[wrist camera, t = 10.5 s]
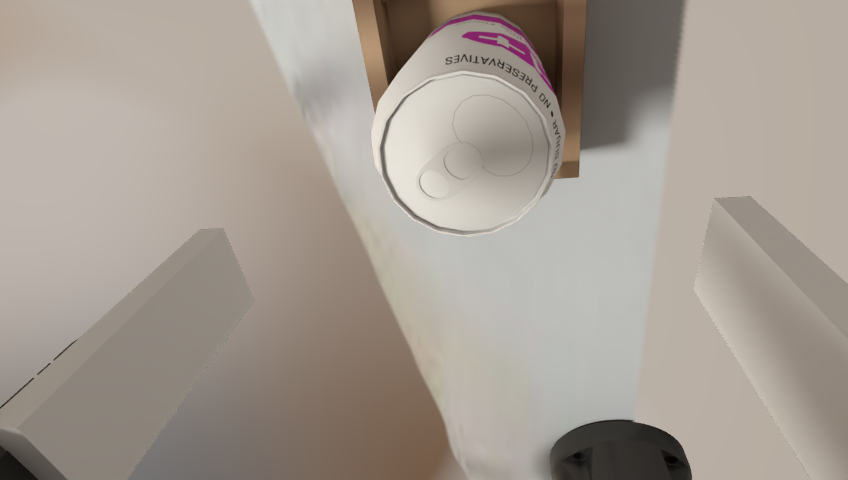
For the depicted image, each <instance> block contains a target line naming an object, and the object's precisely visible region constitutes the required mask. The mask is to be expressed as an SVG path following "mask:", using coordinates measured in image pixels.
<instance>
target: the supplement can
mask: <svg viewBox="0 0 848 480" xmlns="http://www.w3.org/2000/svg"><path fill="white" fill-rule="evenodd" d="M565 132H566V131H565V127H564V124H563V120H562V116H561V112H560V109H559V105H558V101H557V98H556V95H555V93H554V91H553V89H552V86H551V84H550V82H549V79H548V77H547V75H546V73H545V70H544V68H543V66H542V64H541V61H540V59H539V57H538V55H537V52H536V50H535V48H534V46H533V43H532V42H531V41H530V39H529V38H528V37H527V35H526V34H525V33H524V31H523V30H522V29H521V27H520V26H519V25H518V24H516V23H514V22H513V21H511V20H509V19H508V18H506V17H504V16H503V15H501V14H499V13H493V12H486V11H479V10H475V11H470V12H466V13H462V14H458V15H454V16H452V17H451V18H450V19H448V20H447V21H445V22H444V23H443V24H441V25H440V26H438V27H437V28H435V29H434V30H433V32H432V33H431V34H430V35H429V36H428V38H427V39H426V40H425V41H424V42H423V44H422V45H421V46H420V47H419V48H418V50H417V51H416V52H415V53H414V54H413V56H412V57H411V58H410V59H409V60H408V62H407V63H406V64H405V65H404V66H403V68H402V69H401V70H400V71H399V72H398V74H397V75H396V77H395V78H394V80H393V81H392V82H391V84H390V85H389V87H388V88H387V90H386V91H385V93H384V94H383V96H382V97H381V99H380V100H379V102H378V105H377V110H376V114H375V118H374V122H373V127H372V131H371V139H372V147H373V154H374V162H375V166H376V168H377V170H378V172H379V174H380V176H381V178H382V180H383V182H384V184H385V186H386V188H387V190H388V192H389V194H390V196H391V198H392V200H393V202H394V203H396V204H397V205H398V206H399V207H400V208H401V209H402V210H403V211H404V212H405V213H406V214H407V215H408V216H409V217H410V218H411V219H412V220H413V221H415V222H417V223H419V224H421V225H423V226H425V227H427V228H429V229H431V230H433V231H435V232H438V233H444V234H450V235H456V236H462V237H467V236H475V235H483V234H491V233H493V232H496V231H498V230H500V229H502V228H504V227H507V226H509V225H511V224H513V223H515V222H517V221H518V220H519V219H520V218H521V217H523V216H524V215H525V214H526V213H527V212H528V211H529V210H530V209H531V208H532V207H533V206H534V205H535V204H536V203H538V201H539V200H540V199H541V198H542V197H543V196H544V195H545V194H546V193H547V191H548V189H549V187H550V186H551V184H552V182H553V180H554V178H555V176H556V174H557V172H558V170H559V168H560V166H561V164H562V157H563V148H564V140H565Z"/></svg>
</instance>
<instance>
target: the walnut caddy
mask: <svg viewBox="0 0 848 480" xmlns="http://www.w3.org/2000/svg"><path fill="white" fill-rule="evenodd" d="M352 2H353V7H354V12H355V17H356V22H357V27H358V32H359V37H360V42H361V47H362V52H363V57H364V62H365V67H366V72H367V76H368V81H369V86H370V91H371V96H372V101H373V106H374V111H375V114H376V110H377V105H378V102H379V100H380V99H381V97H382V96H383V94H384V93H385V91H386V90H387V88H388V87H389V85H390V84H391V82H392V81H393V80H394V78H395V77H396V75H397V74H398V72H399V71H400V70H401V69H402V68H403V66H404V65H405V64H406V63H407V62H408V60H409V59H410V58H411V57H412V56H413V54H414V53H415V52H416V51H417V50H418V48H419V47H420V46H421V45H422V44H423V42H424V41H425V40H426V39H427V38H428V36H429V35H430V34H431V33H432V32H433V30H434V29H435V28H437V27H438V26H440V25H441V24H443V23H444V22H445V21H447V20H448V19H450V18H451V17H452V16H454V15H458V14H462V13H466V12H470V11H475V10H479V11H486V12H493V13H499V14H501V15H503V16H504V17H506V18H508V19H509V20H511V21H513V22H514V23H516V24H518V25H519V26H520V27H521V29H522V30H523V31H524V33H525V34H526V35H527V37H528V38H529V39H530V41H531V42H532V43H533V46H534V48H535V50H536V52H537V55H538V57H539V59H540V61H541V64H542V66H543V68H544V70H545V73H546V75H547V77H548V79H549V82H550V84H551V86H552V89H553V91H554V93H555V95H556V98H557V101H558V105H559V109H560V112H561V116H562V120H563V124H564V127H565V131H566V132H565V140H564V148H563V157H562V164H561V166H560V168H559V170H558V172H557V174H556V176H555V178H554V179H560V178H574V177H579V158H580V137H581V116H582V95H583V74H584V53H585V32H586V11H587V0H352Z"/></svg>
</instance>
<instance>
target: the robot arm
mask: <svg viewBox="0 0 848 480" xmlns="http://www.w3.org/2000/svg"><path fill="white" fill-rule="evenodd" d="M694 291H695V292H696V294H697V295H698V297H699V299H700V300H701V302H702V304H703V305H704V307H705V309H706V310H707V312H708V313H709V315H710V317H711V318H712V320H713V321H714V323H715V325H716V326H717V328H718V330H719V331H720V333H721V335H722V336H723V337H724V339H725V341H726V343H727V344H728V346H729V348H730V349H731V351H732V352H733V354H734V356H735V357H736V359H737V361H738V362H739V364H740V365H741V367H742V369H743V370H744V372H745V374H746V375H747V377H748V378H749V380H750V382H751V383H752V385H753V386H754V388H755V390H756V391H757V393H758V395H759V396H760V398H761V399H762V401H763V403H764V404H765V406H766V407H767V409H768V411H769V412H770V414H771V416H772V417H773V419H774V421H775V422H776V424H777V425H778V427H779V429H780V430H781V432H782V434H783V435H784V437H785V438H786V440H787V442H788V443H789V445H790V447H791V448H792V450H793V451H794V453H795V455H796V456H797V458H798V459H799V461H800V463H801V464H802V466H803V468H804V469H805V471H806V472H807V474H808V476H809V477H810V479H811V480H848V284H847V283H846V282H845V281H844V280H843V279H841V278H840V277H839V276H838V275H837V274H836V273H835V272H834V271H832V269H830V268H829V267H828V266H827V265H826V264H825V263H824V262H823V261H822V260H820V259H819V258H818V257H817V256H816V255H815V254H814V253H813V252H811V251H810V250H809V249H808V248H807V247H806V246H805V245H804V244H803V243H802V242H800V241H799V240H798V239H797V238H796V237H795V236H794V235H793V234H792V233H790V232H789V231H788V230H787V229H786V228H785V227H784V226H783V225H782V224H780V223H779V222H778V221H777V220H776V219H775V218H774V217H773V216H772V215H771V214H769V213H768V212H767V211H766V210H765V209H764V208H763V207H762V206H761V205H759V204H758V203H757V202H756V201H755V200H754V199H753V198H752V197H750V196H745V197H728V198H714V201H713V205H712V210H711V214H710V219H709V223H708V228H707V233H706V237H705V241H704V245H703V250H702V254H701V259H700V263H699V268H698V272H697V276H696V281H695V285H694ZM254 301H255V300H254V297H253V295H252V293H251V290H250V288H249V286H248V284H247V281H246V279H245V277H244V275H243V272H242V270H241V268H240V265H239V264H238V261H237V259H236V257H235V254H234V252H233V250H232V247H231V245H230V243H229V240H228V238H227V236H226V234H225V232H224V229H223V228H214V229H200V230H199V231H198V232H197V233H196V234H194V235H193V236H192V237H191V238H190V239H189V240H188V241H187V242H186V243H184V244H183V245H182V246H181V247H180V248H179V249H178V250H177V251H176V252H174V253H173V254H172V255H171V256H170V257H169V258H168V259H167V260H166V261H165V262H163V263H162V264H161V265H160V266H159V267H158V268H157V269H156V270H155V271H153V272H152V273H151V274H150V275H149V276H148V277H147V278H146V279H144V281H142V282H141V283H140V284H139V285H138V286H137V287H136V288H135V289H133V290H132V291H131V292H130V293H129V294H128V295H127V296H126V297H124V298H123V299H122V300H121V301H120V302H119V303H118V304H117V305H116V306H114V307H113V308H112V309H111V310H110V311H109V312H108V313H107V314H106V315H104V316H103V317H102V318H101V319H100V320H99V321H98V322H97V323H95V324H94V325H93V326H92V327H91V328H90V329H89V330H88V331H87V332H86V333H84V334H83V335H82V336H81V337H80V338H79V339H77V340H76V341H74V342H73V343H71V344H70V345H69V346H68V347H67V348H66V349H65V350H64V351H63V352H61V353H60V354H59V355H58V356H57V357H56V358H55V359H54V361H53V362H52V363H49V364H48V365H47V366H46V367H45V368H44V369H42V370H41V371H40V372H39V373H38V374H37V377H35V378H32V379H31V380H30V381H29V382H28V383H27V384H26V385H25V386H24V387H22V388H21V389H20V390H19V391H18V392H17V393H16V394H15V395H14V396H12V397H11V398H10V399H9V400H8V401H7V402H6V403H4V404H3V405H2V406H1V407H0V480H127V479H128V477H129V476H130V474H131V473H132V472H133V470H134V469H135V467H136V466H137V465H138V463H139V462H140V460H141V459H142V457H143V456H144V455H145V453H146V452H147V451H148V449H149V448H150V446H151V445H152V444H153V442H154V441H155V439H156V438H157V437H158V435H159V434H160V432H161V431H162V429H163V428H164V427H165V425H166V424H167V423H168V421H169V420H170V418H171V417H172V415H173V414H174V413H175V411H176V410H177V409H178V407H179V406H180V404H181V403H182V401H183V400H184V399H185V397H186V396H187V395H188V393H189V391H190V390H191V389H192V388H193V386H194V385H195V383H196V382H197V380H198V379H199V378H200V376H201V375H202V374H203V372H204V371H205V369H206V368H207V366H208V365H209V364H210V362H211V361H212V360H213V358H214V357H215V355H216V354H217V353H218V351H219V350H220V348H221V347H222V345H223V344H224V343H225V341H226V340H227V338H228V337H229V336H230V334H231V333H232V331H233V330H234V329H235V327H236V326H237V324H238V323H239V322H240V320H241V319H242V317H243V316H244V314H245V313H246V312H247V310H248V309H249V308H250V306H251V305H252V303H253V302H254ZM550 464H551V472H552V478H553V480H692V474H691V469H690V465H689V463H688V460H687V458H686V455H685V453H684V450H683V448H682V446H681V444H680V443H679V442H678V441H677V440H676V439H675V438H674V437H673V436H671V435H670V434H668V433H667V432H665V431H663V430H661V429H658V428H656V427H653V426H649V425H646V424H641V423H636V422H627V421H609V422H600V423H594V424H590V425H586V426H583V427H580V428H577V429H575V430H573V431H571V432H569V433H567V434H566V435H564V436H563V437H561V438H560V439H559V440H558V441H557V442H556V443H555V445H554V446H553V448H552V450H551V453H550Z"/></svg>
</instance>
